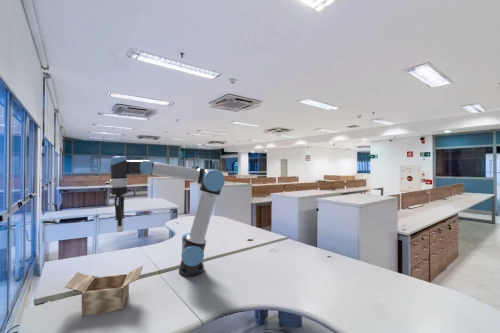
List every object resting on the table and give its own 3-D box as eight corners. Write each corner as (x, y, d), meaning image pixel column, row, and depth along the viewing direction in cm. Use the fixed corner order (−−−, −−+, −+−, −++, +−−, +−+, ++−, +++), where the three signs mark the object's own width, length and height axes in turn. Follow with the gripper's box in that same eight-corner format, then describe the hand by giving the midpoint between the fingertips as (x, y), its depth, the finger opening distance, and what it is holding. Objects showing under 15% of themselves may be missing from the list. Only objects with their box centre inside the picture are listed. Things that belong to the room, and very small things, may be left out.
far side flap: (81, 292, 103) (64, 287, 101) (92, 277, 116) (77, 272, 114) (82, 291, 103) (64, 286, 101) (92, 276, 116) (77, 272, 114)
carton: (128, 292, 121) (129, 273, 121) (122, 310, 107) (122, 288, 107) (92, 297, 117) (92, 277, 116) (81, 316, 102) (81, 293, 102)
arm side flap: (129, 273, 121) (142, 266, 122) (123, 287, 108) (138, 278, 109) (128, 272, 120) (142, 265, 122) (123, 286, 108) (138, 278, 109)
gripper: (113, 185, 128) (114, 229, 129) (108, 188, 116) (109, 236, 117) (129, 184, 131) (130, 227, 131) (125, 187, 118) (126, 234, 119)
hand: (120, 231), depth 124 cm, fingers closed
